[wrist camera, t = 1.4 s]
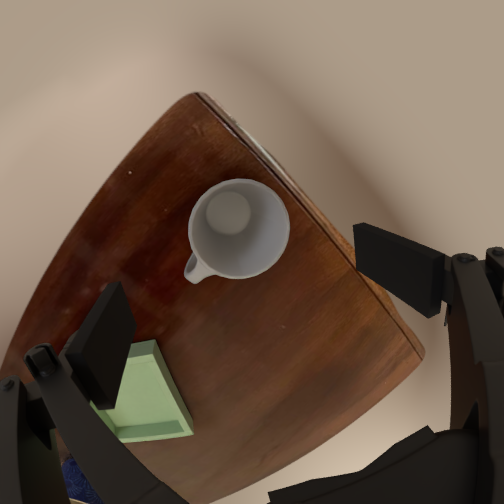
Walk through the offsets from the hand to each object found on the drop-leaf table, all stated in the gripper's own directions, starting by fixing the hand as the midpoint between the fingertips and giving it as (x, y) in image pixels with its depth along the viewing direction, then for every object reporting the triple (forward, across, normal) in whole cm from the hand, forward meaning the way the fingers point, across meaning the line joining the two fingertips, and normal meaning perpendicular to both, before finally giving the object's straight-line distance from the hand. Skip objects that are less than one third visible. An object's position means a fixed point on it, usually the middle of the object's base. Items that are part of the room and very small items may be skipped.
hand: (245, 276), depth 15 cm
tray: (+15, -17, -19) cm, 30 cm away
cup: (+15, 0, 0) cm, 15 cm away
